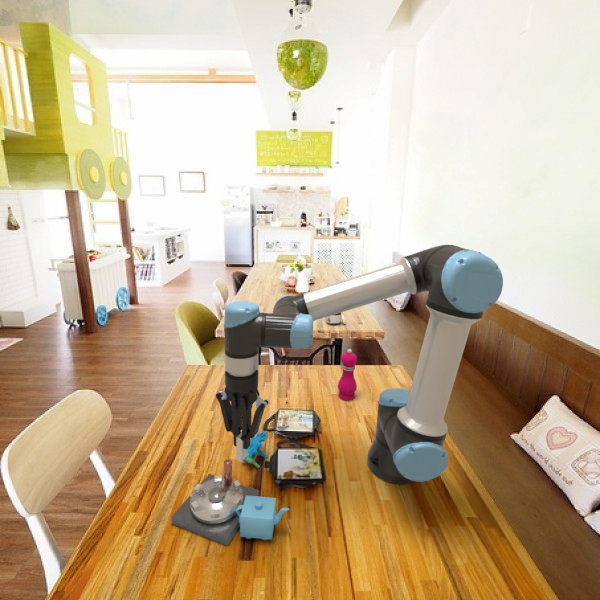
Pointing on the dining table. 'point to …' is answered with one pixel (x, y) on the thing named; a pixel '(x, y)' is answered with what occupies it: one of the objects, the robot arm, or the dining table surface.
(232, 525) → the base plate
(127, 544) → the dining table surface
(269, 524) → the teapot
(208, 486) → the grey rounded piece
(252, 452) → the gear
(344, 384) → the pepper mill
